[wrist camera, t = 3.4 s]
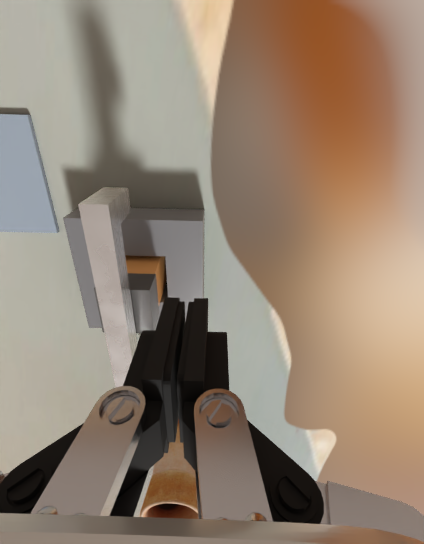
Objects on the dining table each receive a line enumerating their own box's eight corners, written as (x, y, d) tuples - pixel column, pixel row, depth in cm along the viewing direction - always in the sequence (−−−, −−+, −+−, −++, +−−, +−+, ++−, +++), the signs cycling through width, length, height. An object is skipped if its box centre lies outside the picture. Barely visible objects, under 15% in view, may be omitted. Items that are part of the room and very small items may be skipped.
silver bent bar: (91, 186, 24) (63, 203, 19) (140, 188, 24) (123, 204, 19) (130, 403, 37) (118, 442, 32) (161, 404, 37) (154, 443, 32)
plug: (124, 244, 35) (94, 288, 26) (166, 245, 35) (149, 290, 26) (129, 280, 37) (103, 332, 28) (168, 281, 37) (153, 333, 28)
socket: (79, 206, 32) (25, 243, 23) (204, 209, 32) (199, 247, 23) (109, 354, 43) (81, 419, 34) (203, 356, 43) (200, 422, 34)
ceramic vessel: (106, 466, 58) (74, 569, 45) (160, 390, 47) (139, 497, 34) (168, 485, 61) (155, 586, 48) (233, 417, 50) (239, 525, 37)
